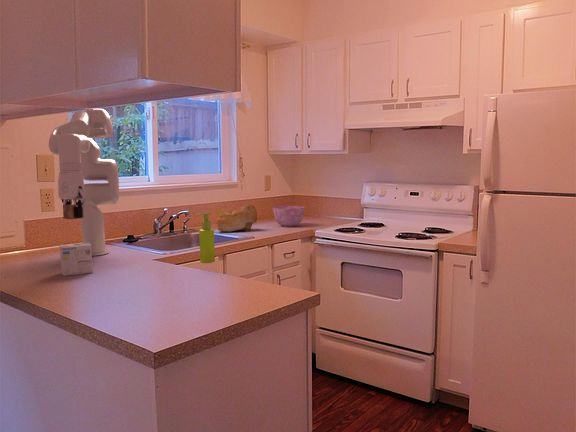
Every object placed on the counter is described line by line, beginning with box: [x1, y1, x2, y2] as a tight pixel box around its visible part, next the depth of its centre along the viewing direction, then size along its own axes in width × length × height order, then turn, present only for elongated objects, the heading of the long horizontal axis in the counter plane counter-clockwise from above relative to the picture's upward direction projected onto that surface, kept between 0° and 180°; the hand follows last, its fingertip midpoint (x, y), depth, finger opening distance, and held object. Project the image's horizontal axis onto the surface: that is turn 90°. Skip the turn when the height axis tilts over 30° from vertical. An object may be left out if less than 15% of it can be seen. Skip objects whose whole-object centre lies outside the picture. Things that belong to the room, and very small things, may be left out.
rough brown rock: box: [216, 204, 258, 233], centre depth 302 cm, size 23×17×15 cm
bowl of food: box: [272, 205, 306, 228], centre depth 318 cm, size 20×20×12 cm
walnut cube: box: [62, 203, 84, 220], centre depth 191 cm, size 5×5×5 cm
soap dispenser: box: [195, 212, 216, 264], centre depth 210 cm, size 6×7×20 cm
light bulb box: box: [59, 242, 94, 277], centre depth 193 cm, size 11×7×11 cm, turn 119°
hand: (73, 216), depth 191 cm, fingers closed on walnut cube, 5 cm apart
